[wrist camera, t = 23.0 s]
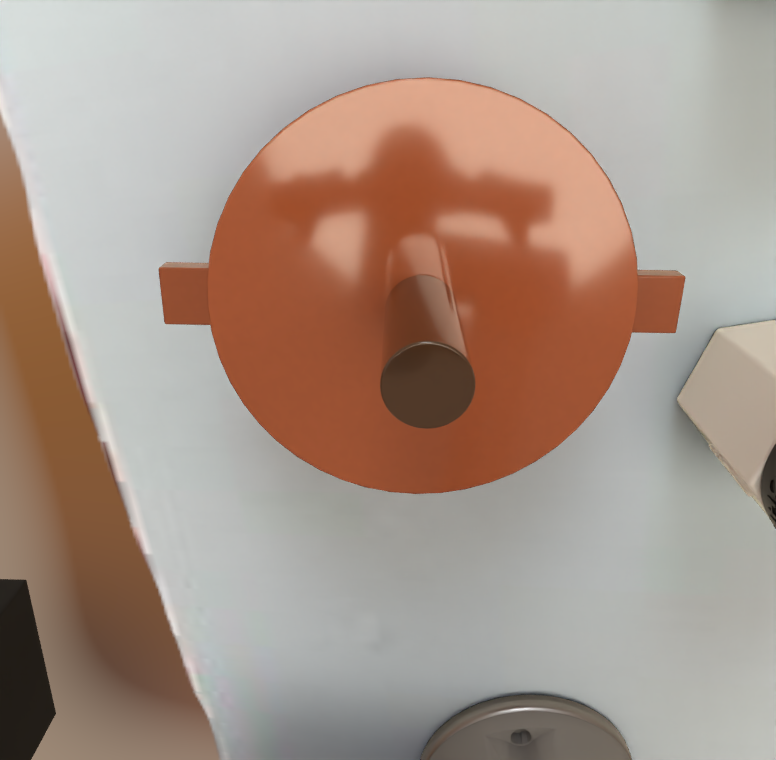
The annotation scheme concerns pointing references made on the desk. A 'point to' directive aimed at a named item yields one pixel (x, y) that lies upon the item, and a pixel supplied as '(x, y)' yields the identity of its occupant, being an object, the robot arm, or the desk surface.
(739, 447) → the jar
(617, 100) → the desk surface
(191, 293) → the pot
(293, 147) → the lid
